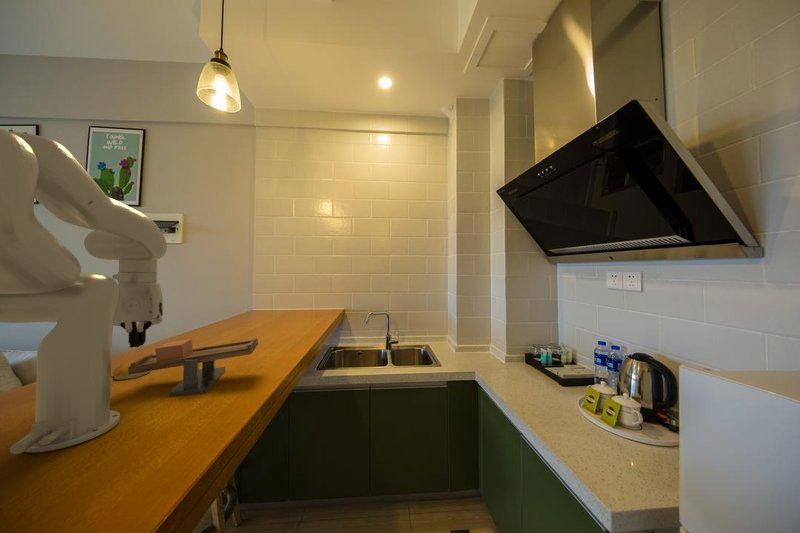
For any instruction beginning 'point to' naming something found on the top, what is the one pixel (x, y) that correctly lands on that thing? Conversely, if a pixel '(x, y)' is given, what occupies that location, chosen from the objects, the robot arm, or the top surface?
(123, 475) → the top surface
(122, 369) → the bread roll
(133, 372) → the balance beam
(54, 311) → the robot arm
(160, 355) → the weight block
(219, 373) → the balance stand
